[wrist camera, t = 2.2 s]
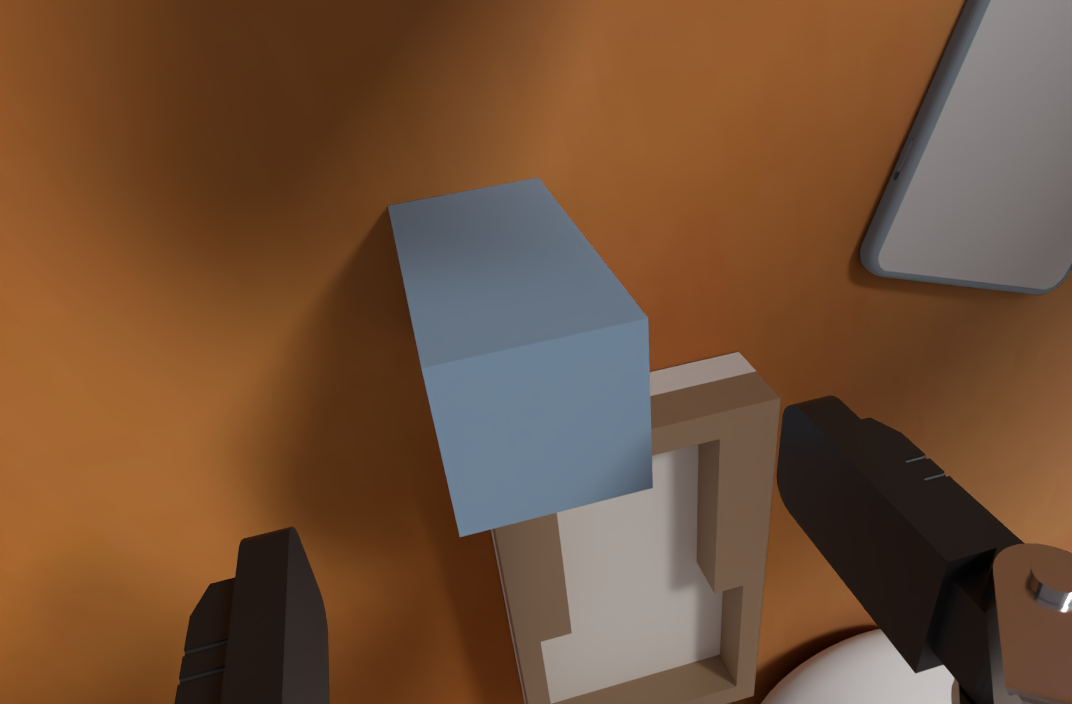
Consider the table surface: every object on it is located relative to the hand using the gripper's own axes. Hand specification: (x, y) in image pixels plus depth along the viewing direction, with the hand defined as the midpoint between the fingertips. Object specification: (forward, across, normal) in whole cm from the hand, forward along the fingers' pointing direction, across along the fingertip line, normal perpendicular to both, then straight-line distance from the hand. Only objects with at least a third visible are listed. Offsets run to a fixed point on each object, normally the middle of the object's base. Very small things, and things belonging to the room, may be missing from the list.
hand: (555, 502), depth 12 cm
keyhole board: (+10, -4, +13) cm, 17 cm away
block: (+10, 0, 0) cm, 10 cm away
